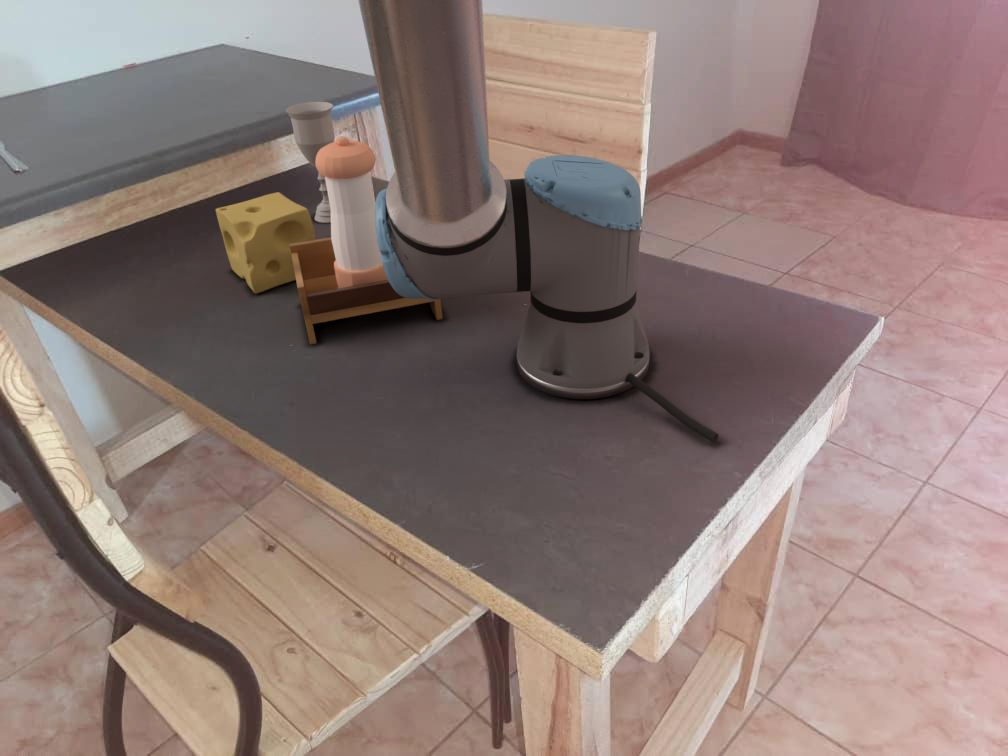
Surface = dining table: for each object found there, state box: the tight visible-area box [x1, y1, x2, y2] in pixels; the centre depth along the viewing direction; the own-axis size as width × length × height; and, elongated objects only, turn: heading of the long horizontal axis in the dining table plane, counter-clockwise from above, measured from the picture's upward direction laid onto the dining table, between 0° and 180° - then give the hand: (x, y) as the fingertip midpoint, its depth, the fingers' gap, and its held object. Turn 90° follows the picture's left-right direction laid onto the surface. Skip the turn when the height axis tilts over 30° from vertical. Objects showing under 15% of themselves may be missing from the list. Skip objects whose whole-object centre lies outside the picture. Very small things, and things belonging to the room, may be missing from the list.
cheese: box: [215, 191, 316, 294], centre depth 112 cm, size 10×11×10 cm
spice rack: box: [289, 236, 443, 345], centre depth 100 cm, size 11×17×9 cm, turn 107°
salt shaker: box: [315, 136, 388, 288], centre depth 95 cm, size 7×7×19 cm
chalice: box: [285, 101, 336, 224], centre depth 126 cm, size 7×7×18 cm
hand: (446, 60), depth 96 cm, fingers open, 13 cm apart
